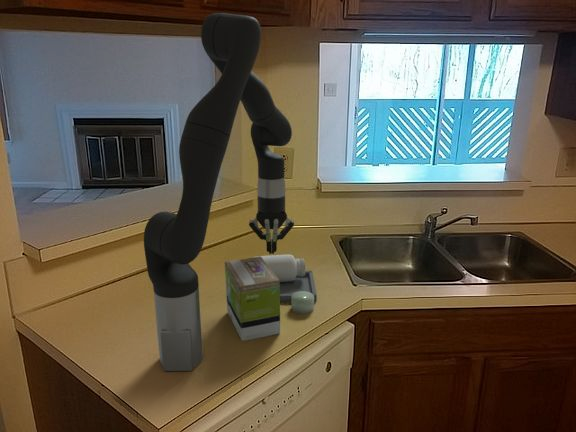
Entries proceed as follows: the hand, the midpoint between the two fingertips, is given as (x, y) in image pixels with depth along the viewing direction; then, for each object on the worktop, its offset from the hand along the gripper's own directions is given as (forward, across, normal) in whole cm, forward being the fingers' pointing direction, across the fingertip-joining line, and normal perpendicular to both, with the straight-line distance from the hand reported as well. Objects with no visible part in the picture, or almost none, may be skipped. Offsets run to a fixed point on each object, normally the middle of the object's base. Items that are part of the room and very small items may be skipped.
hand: (271, 252), depth 137 cm
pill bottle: (+7, -6, +3) cm, 9 cm away
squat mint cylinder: (+11, +8, -12) cm, 18 cm away
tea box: (+11, -5, -19) cm, 23 cm away
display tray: (+11, +4, 0) cm, 12 cm away
